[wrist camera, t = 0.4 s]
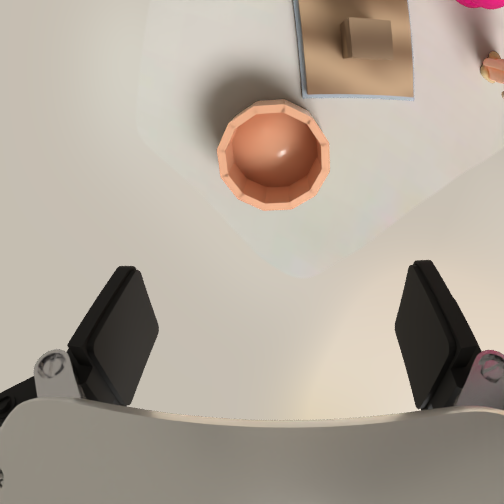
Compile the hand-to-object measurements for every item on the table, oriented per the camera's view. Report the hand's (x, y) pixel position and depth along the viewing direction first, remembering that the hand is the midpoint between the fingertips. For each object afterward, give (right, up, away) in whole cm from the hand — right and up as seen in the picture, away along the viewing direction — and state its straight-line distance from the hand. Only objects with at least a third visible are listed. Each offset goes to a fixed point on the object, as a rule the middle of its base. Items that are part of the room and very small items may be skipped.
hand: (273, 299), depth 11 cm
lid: (+11, +24, +17) cm, 31 cm away
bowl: (+2, +14, +25) cm, 28 cm away
